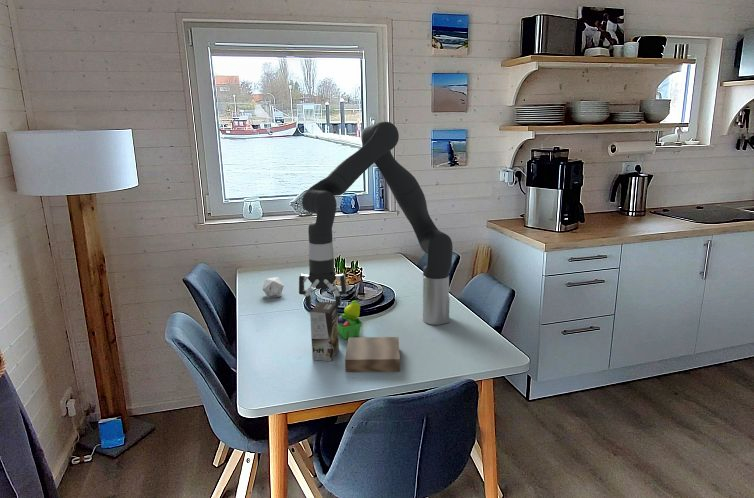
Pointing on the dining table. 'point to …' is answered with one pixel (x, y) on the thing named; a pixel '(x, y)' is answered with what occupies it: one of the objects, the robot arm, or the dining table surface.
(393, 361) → the wooden block
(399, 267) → the dining table surface
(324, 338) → the coffee box
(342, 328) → the fruit basket
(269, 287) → the die
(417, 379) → the dining table surface
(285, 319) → the dining table surface
